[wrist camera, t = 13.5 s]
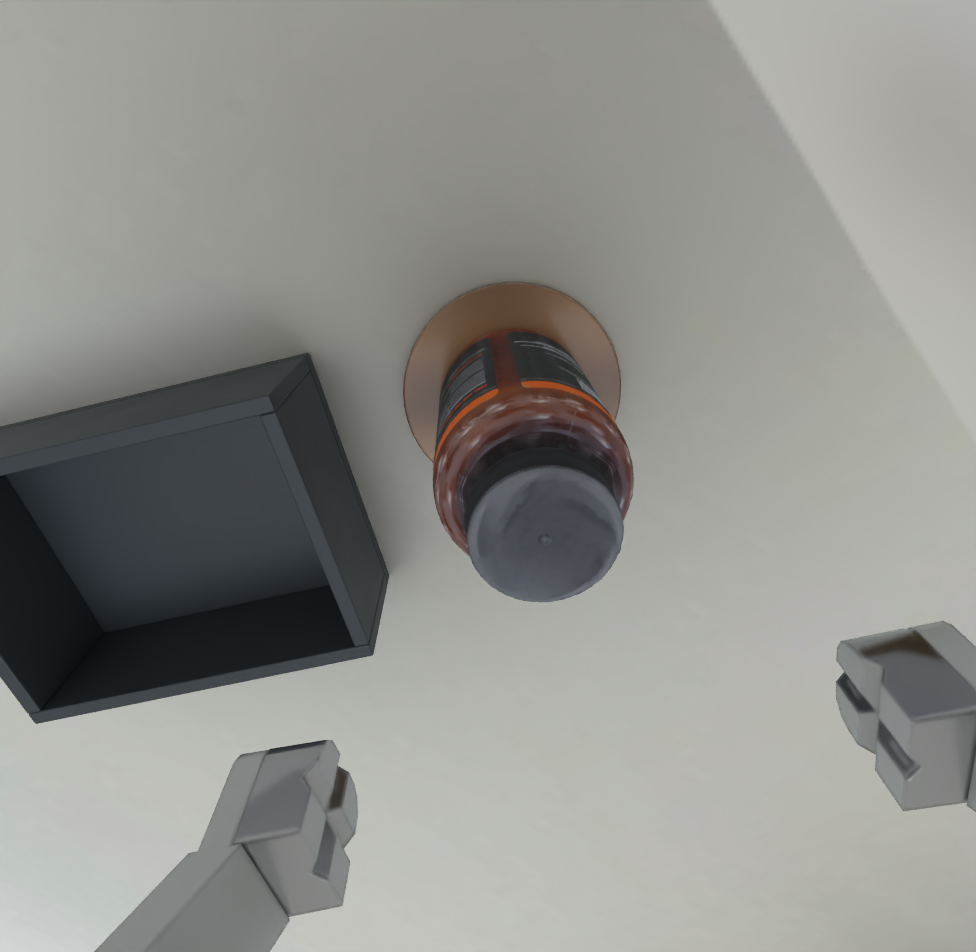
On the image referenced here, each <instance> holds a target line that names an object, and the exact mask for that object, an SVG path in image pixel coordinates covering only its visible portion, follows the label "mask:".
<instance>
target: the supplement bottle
mask: <svg viewBox="0 0 976 952" xmlns="http://www.w3.org/2000/svg"><path fill="white" fill-rule="evenodd" d="M633 481H634V478H633V465H632V460H631V457H630V453H629V450H628V447H627V444H626V442H625V440H624V438H623V435H622V434H621V432H620V430H619V429H618V427H617V425H616V423H615V422H614V420H613V418H612V417H611V415H610V413H609V412H608V410H607V408H606V407H605V405H604V404H603V402H602V401H601V399H600V398H599V396H598V394H597V393H596V391H595V390H594V388H593V387H592V385H591V384H590V381H589V380H588V379H587V377H586V376H585V374H584V373H583V371H582V370H581V368H580V366H579V365H578V363H577V362H576V360H575V359H574V358H573V357H572V355H571V354H570V353H569V352H568V351H567V350H566V349H565V348H564V347H563V346H562V345H560V344H559V343H558V342H556V341H555V340H553V339H551V338H549V337H547V336H546V335H544V334H540V333H538V332H535V331H532V330H525V329H506V330H500V331H496V332H492V333H489V334H487V335H484V336H482V337H480V338H478V339H476V340H474V341H473V342H472V343H470V344H469V345H468V346H467V347H466V348H464V349H463V350H462V351H461V352H460V353H459V354H458V356H457V357H456V358H455V359H454V361H453V362H452V364H451V366H450V367H449V369H448V371H447V373H446V376H445V378H444V381H443V385H442V388H441V393H440V401H439V414H438V424H437V433H436V446H435V456H434V467H433V490H434V498H435V504H436V508H437V511H438V514H439V517H440V519H441V522H442V524H443V526H444V528H445V530H446V531H447V533H448V534H449V535H450V537H451V538H452V540H453V541H454V542H455V543H456V544H457V545H458V546H459V548H461V549H462V550H463V551H464V552H465V553H466V554H467V555H469V556H470V558H471V560H472V563H473V565H474V567H475V569H476V570H477V572H478V573H479V574H480V576H481V577H482V578H483V579H484V580H485V581H486V582H487V583H488V584H489V585H490V586H492V587H493V588H495V589H497V590H498V591H499V592H501V593H503V594H505V595H507V596H510V597H513V598H515V599H519V600H524V601H531V602H552V601H557V600H562V599H566V598H569V597H571V596H574V595H577V594H580V593H582V592H583V591H585V590H587V589H588V588H590V587H592V586H593V585H594V584H595V583H596V582H598V581H599V580H601V579H602V578H603V576H604V575H605V574H606V573H607V572H608V570H609V569H610V568H611V566H612V564H613V563H614V561H615V560H616V557H617V555H618V554H619V553H620V550H621V543H622V540H623V531H624V526H623V520H624V518H625V516H626V513H627V510H628V508H629V505H630V501H631V499H632V494H633Z"/></svg>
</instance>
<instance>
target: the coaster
mask: <svg viewBox="0 0 976 952" xmlns="http://www.w3.org/2000/svg"><path fill="white" fill-rule="evenodd" d="M506 329H525V330H532V331H535V332H538V333H540V334H544V335H546V336H547V337H549V338H551V339H553V340H555V341H556V342H558V343H559V344H560V345H562V346H563V347H564V348H565V349H566V350H567V351H568V352H569V353H570V354H571V355H572V357H573V358H574V359H575V360H576V362H577V363H578V365H579V366H580V368H581V370H582V371H583V373H584V374H585V376H586V377H587V379H588V380H589V381H590V384H591V385H592V387H593V388H594V390H595V391H596V393H597V394H598V396H599V398H600V399H601V401H602V402H603V404H604V405H605V407H606V408H607V410H608V412H609V413H610V415H611V417H612V418H613V420H614V421H615V418H616V416H617V413H618V408H619V403H620V394H621V378H620V369H619V365H618V360H617V357H616V354H615V351H614V348H613V346H612V344H611V342H610V340H609V338H608V336H607V334H606V333H605V331H604V330H603V328H602V327H601V326H600V324H599V323H598V322H597V320H596V319H595V318H594V317H593V316H592V315H591V314H590V313H589V312H588V311H587V310H586V309H585V308H583V307H582V306H581V305H580V304H578V303H577V302H576V301H574V300H573V299H571V298H569V297H568V296H566V295H564V294H562V293H560V292H558V291H555V290H553V289H550V288H548V287H544V286H540V285H536V284H530V283H520V282H512V283H499V284H493V285H487V286H484V287H481V288H478V289H475V290H472V291H470V292H468V293H466V294H464V295H462V296H460V297H458V298H456V299H455V300H453V301H452V302H450V303H449V304H447V305H446V306H445V307H444V308H443V309H441V310H440V311H439V312H438V313H437V314H436V315H435V316H434V317H433V318H432V319H431V320H430V321H429V323H428V324H427V325H426V326H425V328H424V329H423V331H422V332H421V334H420V335H419V337H418V338H417V340H416V343H415V345H414V347H413V349H412V351H411V354H410V357H409V360H408V363H407V366H406V371H405V377H404V390H403V396H404V407H405V412H406V416H407V420H408V423H409V426H410V428H411V431H412V433H413V435H414V437H415V439H416V441H417V443H418V444H419V446H420V447H421V449H422V450H423V451H424V453H425V454H426V456H427V457H428V458H429V459H430V460H431V461H432V462H433V463H434V456H435V446H436V433H437V424H438V414H439V401H440V393H441V388H442V385H443V381H444V378H445V376H446V373H447V371H448V369H449V367H450V366H451V364H452V362H453V361H454V359H455V358H456V357H457V356H458V354H459V353H460V352H461V351H462V350H463V349H464V348H466V347H467V346H468V345H469V344H470V343H472V342H473V341H474V340H476V339H478V338H480V337H482V336H484V335H487V334H489V333H492V332H496V331H500V330H506Z"/></svg>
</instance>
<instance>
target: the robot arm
mask: <svg viewBox="0 0 976 952" xmlns="http://www.w3.org/2000/svg"><path fill="white" fill-rule="evenodd" d="M836 661H837V662H838V663H839V665H840V666H841V667H842V669H843V670H844V673H843V674H842V675H841V676H840V678H839V679H838V680H837V681H836V699H837V703H838V706H839V710H840V713H841V716H842V718H843V720H844V722H845V725H846V727H847V729H848V730H849V732H850V734H851V735H852V737H853V738H854V740H855V741H856V743H857V744H858V745H860V746H861V747H863V748H865V749H867V750H868V751H870V752H872V753H874V754H876V765H875V771H876V772H877V774H878V775H879V777H880V778H881V779H882V781H883V782H884V784H885V785H886V787H887V788H888V790H889V791H890V793H891V794H892V795H893V797H894V798H895V800H896V801H897V803H898V804H899V806H900V807H901V809H902V810H903V811H909V810H916V809H923V808H930V807H937V806H945V805H952V804H959V803H966V802H967V806H968V807H969V808H971V809H972V810H974V811H975V812H976V646H974V645H973V644H972V643H971V642H970V641H969V640H968V639H967V638H966V637H965V636H964V635H963V634H961V633H960V632H959V631H958V630H957V629H956V628H955V627H954V626H953V625H951V624H949V623H947V622H944V621H940V622H935V623H930V624H925V625H920V626H915V627H910V628H908V629H899V630H894V631H889V632H884V633H879V634H874V635H869V636H864V637H860V638H855V639H850V640H845V641H841V642H840V643H839V645H838V647H837V659H836ZM339 757H340V753H339V751H338V749H337V747H336V746H335V744H334V742H333V740H323V741H317V742H311V743H305V744H298V745H292V746H286V747H280V748H274V749H270V750H265V751H259V752H253V753H247V754H241V755H240V756H239V757H238V759H237V760H236V761H235V762H234V763H233V765H232V768H231V770H230V773H229V775H228V778H227V780H226V783H225V785H224V788H223V790H222V793H221V795H220V798H219V800H218V803H217V805H216V807H215V810H214V812H213V815H212V817H211V820H210V822H209V825H208V827H207V830H206V832H205V835H204V837H203V840H202V842H201V845H200V847H199V850H198V851H197V852H192V853H189V854H188V855H187V856H186V857H185V858H184V859H183V860H182V861H181V862H180V863H179V864H178V865H177V866H176V867H175V868H174V869H173V870H172V871H171V872H170V873H169V874H168V875H167V876H166V877H165V879H164V880H163V881H162V882H161V883H160V884H159V885H158V886H157V887H156V888H155V889H154V890H153V891H152V892H151V893H150V894H149V895H148V896H147V897H146V898H145V899H144V900H143V901H142V902H141V904H140V905H139V906H138V907H137V908H136V909H135V910H134V911H133V912H132V913H131V914H130V915H129V916H128V917H127V918H126V919H125V920H124V921H123V922H122V923H121V924H120V925H119V926H118V927H117V929H116V930H115V931H114V932H113V933H112V934H111V935H110V936H109V937H108V938H107V939H106V940H105V941H104V942H103V943H102V944H101V945H100V946H99V947H98V948H97V949H96V950H95V951H94V952H270V950H271V949H272V947H273V946H274V944H275V943H276V941H277V939H278V938H279V936H280V935H281V933H282V932H283V930H284V928H285V927H286V925H287V924H288V922H289V921H290V920H289V917H290V916H295V915H300V914H305V913H310V912H315V911H320V910H325V909H330V908H335V907H340V906H342V905H343V899H344V894H345V888H346V883H347V877H348V871H349V866H350V860H349V859H348V857H347V855H346V853H345V851H344V848H345V846H346V845H347V844H348V842H349V841H350V840H351V838H352V837H353V836H354V834H355V831H356V824H357V818H358V808H357V794H356V790H355V785H354V782H353V780H352V778H351V776H350V773H349V772H347V771H346V770H344V769H342V768H340V767H338V762H339Z"/></svg>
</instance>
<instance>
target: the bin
mask: <svg viewBox="0 0 976 952" xmlns="http://www.w3.org/2000/svg"><path fill="white" fill-rule="evenodd" d="M388 579H389V574H388V571H387V568H386V566H385V563H384V560H383V557H382V555H381V552H380V549H379V546H378V544H377V541H376V538H375V535H374V532H373V530H372V527H371V524H370V521H369V519H368V516H367V513H366V510H365V507H364V505H363V502H362V499H361V496H360V494H359V491H358V488H357V485H356V483H355V480H354V477H353V474H352V471H351V469H350V466H349V463H348V460H347V458H346V455H345V452H344V449H343V447H342V444H341V441H340V438H339V435H338V433H337V430H336V427H335V424H334V422H333V419H332V416H331V413H330V410H329V408H328V405H327V402H326V399H325V397H324V394H323V391H322V388H321V386H320V383H319V380H318V377H317V374H316V372H315V369H314V366H313V363H312V361H311V358H310V355H309V353H306V354H301V355H297V356H293V357H289V358H285V359H281V360H277V361H272V362H268V363H264V364H260V365H256V366H252V367H248V368H243V369H239V370H235V371H231V372H227V373H223V374H219V375H214V376H210V377H206V378H202V379H198V380H194V381H190V382H185V383H181V384H177V385H173V386H169V387H165V388H161V389H156V390H152V391H148V392H144V393H140V394H136V395H132V396H127V397H123V398H119V399H115V400H111V401H107V402H103V403H98V404H94V405H90V406H86V407H82V408H78V409H74V410H69V411H65V412H61V413H57V414H53V415H49V416H45V417H40V418H36V419H32V420H28V421H24V422H20V423H16V424H11V425H7V426H3V427H0V677H1V678H2V680H3V681H4V682H5V684H6V685H7V686H8V688H9V689H10V690H11V692H12V693H13V694H14V696H15V697H16V698H17V700H18V701H19V702H20V704H21V705H22V706H23V708H24V709H25V710H26V712H27V713H29V716H30V717H31V718H32V720H33V721H34V722H35V723H36V724H38V723H43V722H48V721H53V720H57V719H62V718H67V717H72V716H77V715H82V714H87V713H92V712H97V711H102V710H107V709H112V708H116V707H121V706H126V705H131V704H136V703H141V702H146V701H151V700H156V699H161V698H166V697H170V696H175V695H180V694H185V693H190V692H195V691H200V690H205V689H210V688H215V687H220V686H225V685H229V684H234V683H239V682H244V681H249V680H254V679H259V678H264V677H269V676H274V675H279V674H283V673H288V672H293V671H298V670H303V669H308V668H313V667H318V666H323V665H328V664H333V663H338V662H342V661H347V660H352V659H357V658H362V657H367V656H372V655H373V653H374V648H375V643H376V638H377V633H378V628H379V623H380V619H381V614H382V609H383V604H384V599H385V594H386V589H387V584H388V583H387V582H388Z"/></svg>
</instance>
